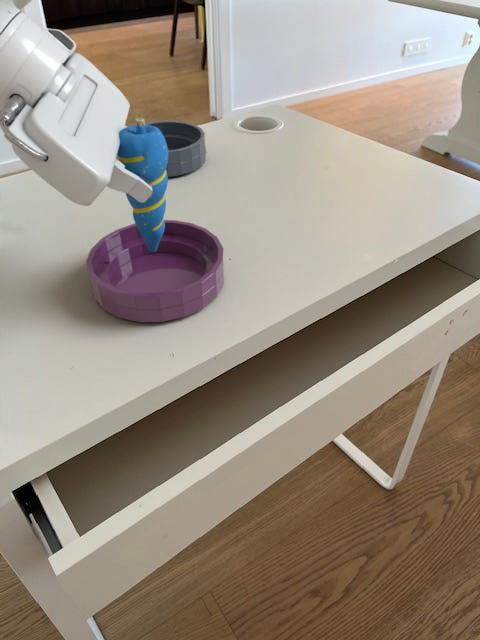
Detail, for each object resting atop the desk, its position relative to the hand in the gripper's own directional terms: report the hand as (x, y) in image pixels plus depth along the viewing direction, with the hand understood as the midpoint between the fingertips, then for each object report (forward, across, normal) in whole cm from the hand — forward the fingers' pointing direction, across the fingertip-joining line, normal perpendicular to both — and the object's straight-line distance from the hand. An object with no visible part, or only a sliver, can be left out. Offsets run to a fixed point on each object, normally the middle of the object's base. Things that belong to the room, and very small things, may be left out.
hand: (150, 180), depth 52 cm
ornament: (+6, 0, +6) cm, 9 cm away
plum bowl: (+9, 0, +10) cm, 13 cm away
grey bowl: (+8, +34, +10) cm, 36 cm away
